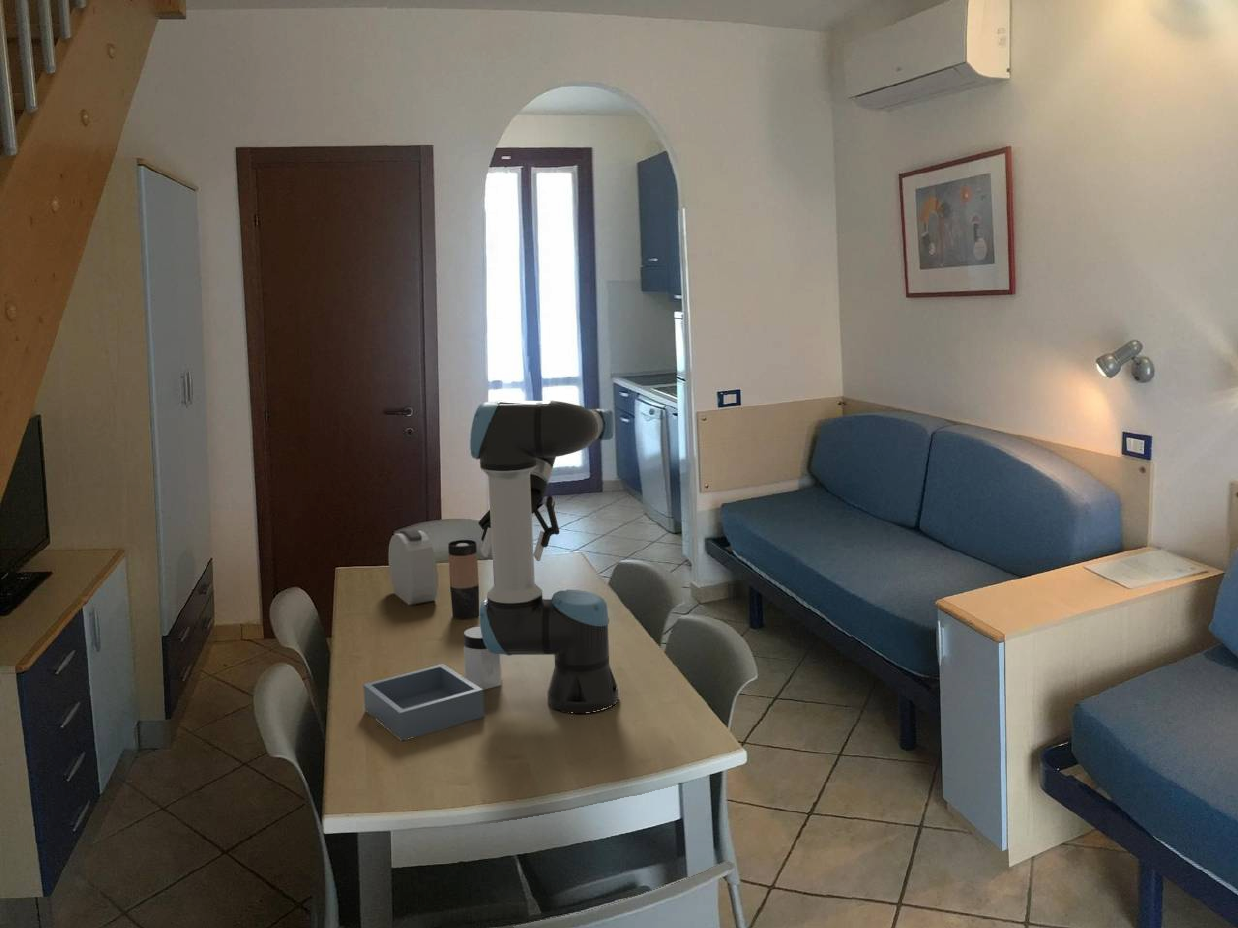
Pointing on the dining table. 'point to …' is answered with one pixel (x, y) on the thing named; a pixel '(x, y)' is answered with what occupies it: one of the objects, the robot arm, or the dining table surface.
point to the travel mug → (464, 579)
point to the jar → (480, 661)
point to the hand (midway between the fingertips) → (509, 556)
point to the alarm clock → (413, 567)
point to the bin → (423, 701)
